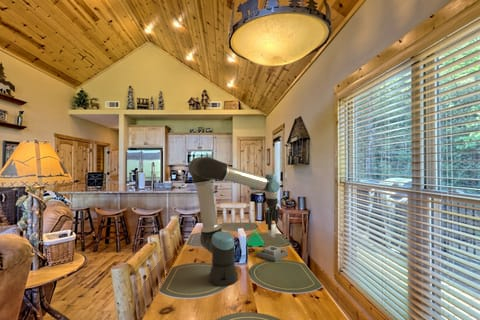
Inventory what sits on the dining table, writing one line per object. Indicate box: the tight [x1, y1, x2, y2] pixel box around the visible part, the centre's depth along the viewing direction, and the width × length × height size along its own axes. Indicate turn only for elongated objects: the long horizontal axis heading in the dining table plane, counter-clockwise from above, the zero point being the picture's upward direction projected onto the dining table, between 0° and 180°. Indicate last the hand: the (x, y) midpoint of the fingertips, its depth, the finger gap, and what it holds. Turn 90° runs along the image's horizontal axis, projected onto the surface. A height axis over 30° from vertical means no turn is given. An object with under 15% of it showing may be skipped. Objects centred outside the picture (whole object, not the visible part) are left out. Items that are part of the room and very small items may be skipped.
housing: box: [256, 245, 288, 263], centre depth 165 cm, size 14×14×5 cm
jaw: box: [269, 220, 276, 239], centre depth 165 cm, size 4×4×10 cm
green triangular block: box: [246, 231, 265, 248], centre depth 187 cm, size 12×8×10 cm, turn 89°
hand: (272, 234), depth 165 cm, fingers closed on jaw, 3 cm apart
